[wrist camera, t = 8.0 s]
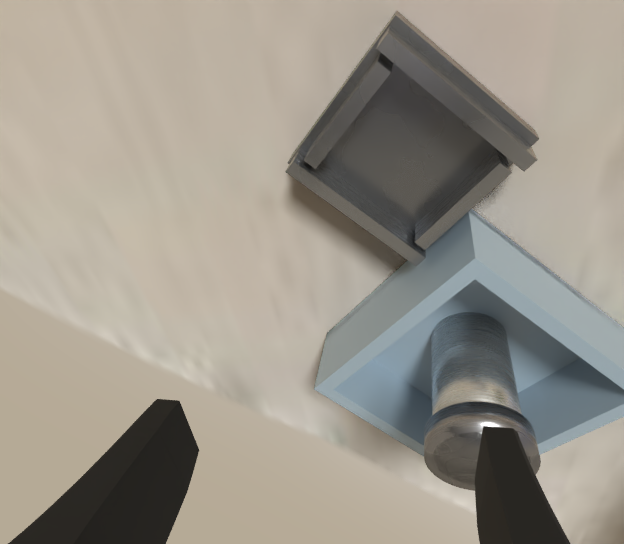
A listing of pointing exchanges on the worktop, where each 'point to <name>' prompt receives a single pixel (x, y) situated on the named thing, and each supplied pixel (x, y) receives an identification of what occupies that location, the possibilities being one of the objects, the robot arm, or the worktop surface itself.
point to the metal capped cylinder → (471, 396)
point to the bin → (495, 303)
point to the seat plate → (410, 142)
